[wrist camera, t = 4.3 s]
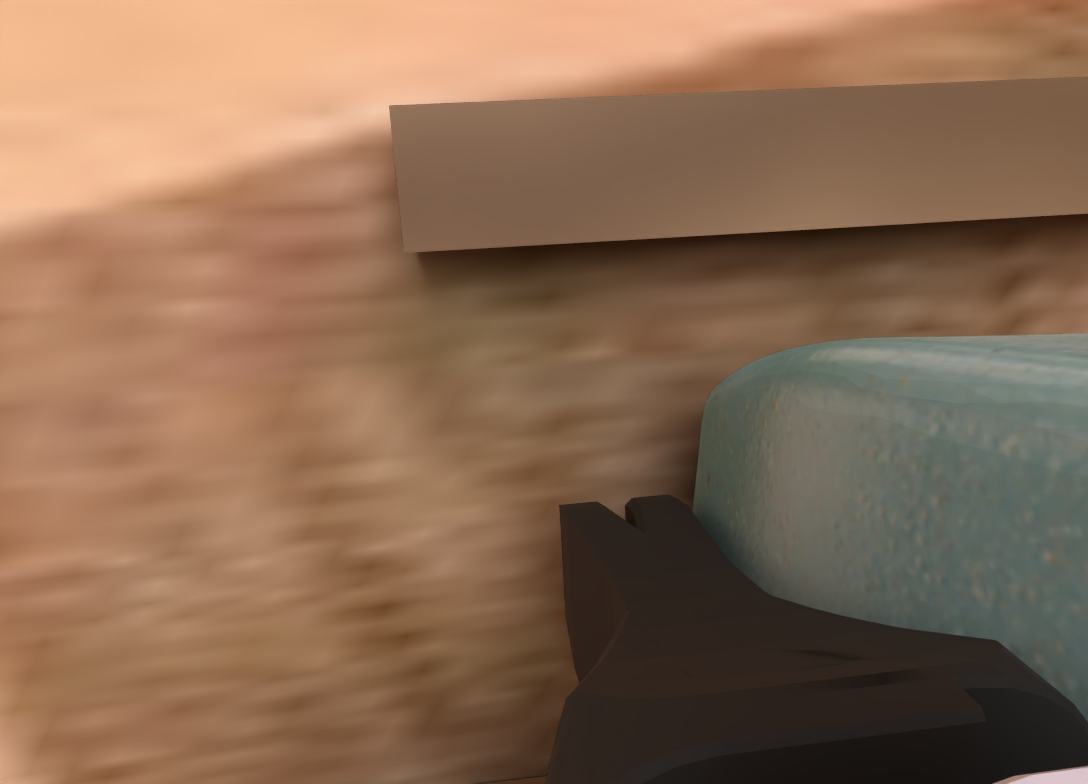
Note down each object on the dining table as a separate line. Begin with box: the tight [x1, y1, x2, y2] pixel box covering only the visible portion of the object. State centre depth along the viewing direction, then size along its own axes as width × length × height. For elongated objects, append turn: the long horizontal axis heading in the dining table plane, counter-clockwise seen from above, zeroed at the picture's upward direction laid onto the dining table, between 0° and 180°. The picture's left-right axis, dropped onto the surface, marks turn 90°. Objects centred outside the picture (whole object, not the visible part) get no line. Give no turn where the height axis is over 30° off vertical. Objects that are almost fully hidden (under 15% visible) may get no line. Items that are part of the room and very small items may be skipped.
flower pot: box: [693, 333, 1088, 722], centre depth 9 cm, size 9×9×9 cm
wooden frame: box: [389, 77, 1088, 784], centre depth 13 cm, size 15×24×2 cm, turn 93°
